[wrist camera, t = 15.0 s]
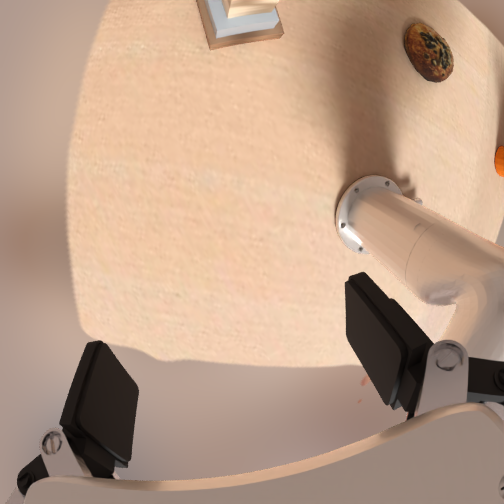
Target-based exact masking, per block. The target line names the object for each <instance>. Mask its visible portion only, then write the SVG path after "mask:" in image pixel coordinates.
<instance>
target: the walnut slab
mask: <svg viewBox="0 0 504 504" xmlns="http://www.w3.org/2000/svg"><path fill="white" fill-rule="evenodd" d="M196 1H197V4H198V8H199V11H200V15H201V19H202V22H203V26H204V30H205V33H206V37H207V40H208V44H209V48H210V50H214V49H218V48H223V47H228V46H233V45H238V44H244V43H250V42H256V41H263V40H271V39H279V38H280V37H281V36H282V35H283V34H284V31H283V28H282V24H281V21H280V18H279V15H278V12H277V9H276V6H275V9H276V12H277V15H278V18H279V22H278V23H277V24H276V26H275V27H274V28H272V29H265V30H258V31H252V32H246V33H240V34H235V35H230V36H225V37H221V38H216V36H215V33H214V30H213V26H212V23H211V20H210V17H209V13H208V10H207V7H206V4H205V1H204V0H196Z"/></svg>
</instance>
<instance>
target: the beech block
mask: <svg viewBox="0 0 504 504" xmlns="http://www.w3.org/2000/svg"><path fill="white" fill-rule="evenodd" d="M278 2H279V0H222V3H223V6H224V10H225V13H226V16H227V19H228V18H234V17H240V16H246V15H253V14H261V13H270V12H272V11H273V9H274V8H275V6H276V5H277V3H278Z"/></svg>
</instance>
